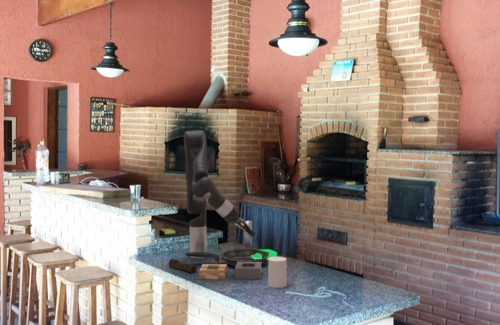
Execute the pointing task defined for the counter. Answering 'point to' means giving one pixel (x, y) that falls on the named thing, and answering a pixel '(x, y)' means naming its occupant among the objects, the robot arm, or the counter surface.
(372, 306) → the counter surface
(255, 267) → the holder block
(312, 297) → the counter surface
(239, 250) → the frying pan
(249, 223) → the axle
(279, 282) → the cup
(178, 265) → the hand tool
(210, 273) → the square frame block
